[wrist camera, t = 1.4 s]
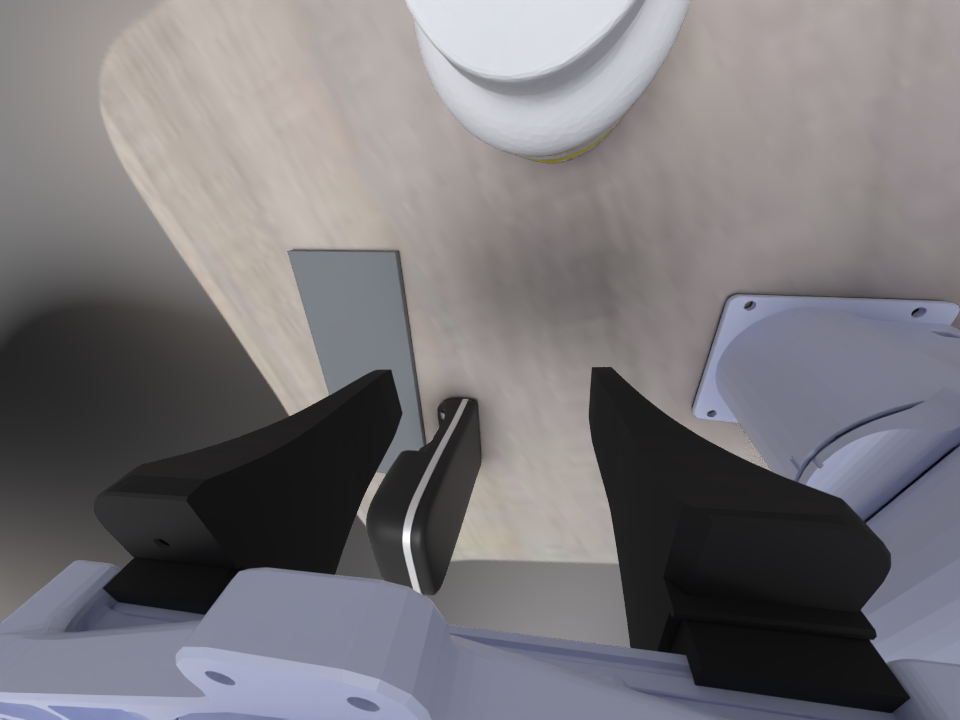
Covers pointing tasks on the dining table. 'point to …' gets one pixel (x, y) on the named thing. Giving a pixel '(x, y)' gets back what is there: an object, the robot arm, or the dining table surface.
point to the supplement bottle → (543, 66)
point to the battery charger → (426, 501)
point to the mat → (362, 328)
